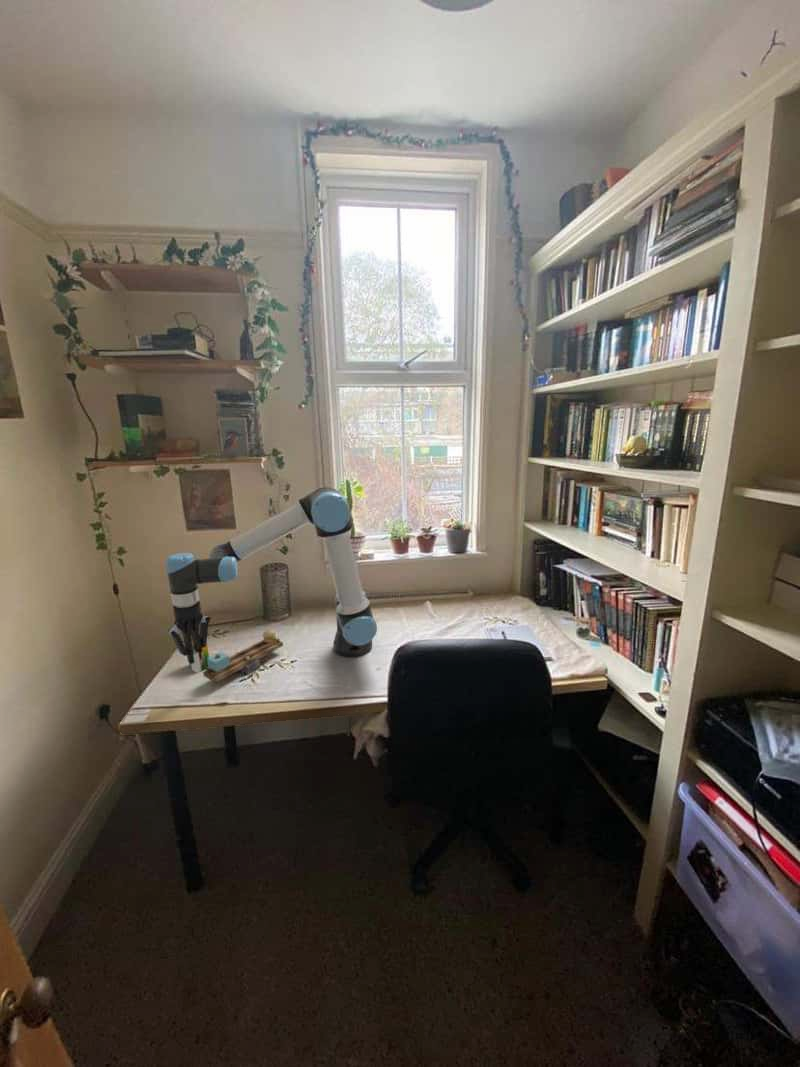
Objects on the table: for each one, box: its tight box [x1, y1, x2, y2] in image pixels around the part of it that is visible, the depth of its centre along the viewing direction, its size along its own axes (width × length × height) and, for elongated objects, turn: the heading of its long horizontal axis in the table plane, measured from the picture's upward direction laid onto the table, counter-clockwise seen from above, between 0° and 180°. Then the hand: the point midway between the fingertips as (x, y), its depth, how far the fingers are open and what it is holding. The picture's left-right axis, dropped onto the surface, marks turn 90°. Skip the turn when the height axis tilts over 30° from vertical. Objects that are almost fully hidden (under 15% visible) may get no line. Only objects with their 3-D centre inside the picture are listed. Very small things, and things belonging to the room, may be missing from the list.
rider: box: [207, 651, 230, 672], centre depth 142 cm, size 5×5×5 cm
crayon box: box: [188, 635, 210, 671], centre depth 151 cm, size 7×3×12 cm, turn 69°
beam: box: [202, 629, 284, 684], centre depth 151 cm, size 28×9×9 cm, turn 145°
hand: (196, 670), depth 136 cm, fingers closed
